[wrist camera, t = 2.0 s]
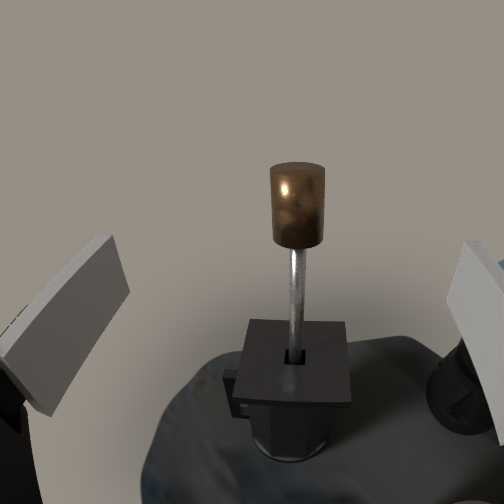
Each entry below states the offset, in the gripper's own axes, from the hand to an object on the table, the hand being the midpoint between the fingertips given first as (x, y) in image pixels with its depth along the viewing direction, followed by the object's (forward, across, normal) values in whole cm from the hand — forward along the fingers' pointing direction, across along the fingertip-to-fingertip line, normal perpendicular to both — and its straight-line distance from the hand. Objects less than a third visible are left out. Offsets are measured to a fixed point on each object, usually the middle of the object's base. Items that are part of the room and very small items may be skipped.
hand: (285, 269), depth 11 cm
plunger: (+11, 0, -21) cm, 24 cm away
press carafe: (+11, -1, -33) cm, 35 cm away
